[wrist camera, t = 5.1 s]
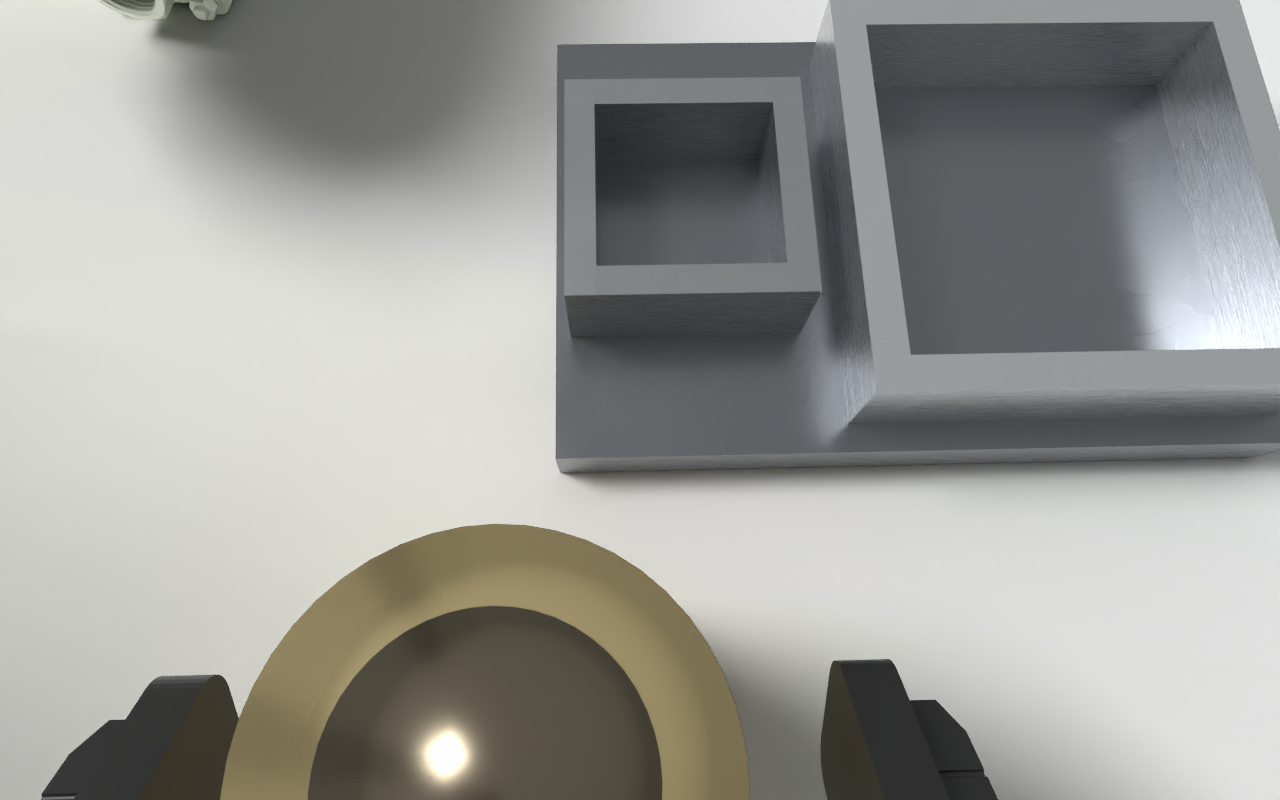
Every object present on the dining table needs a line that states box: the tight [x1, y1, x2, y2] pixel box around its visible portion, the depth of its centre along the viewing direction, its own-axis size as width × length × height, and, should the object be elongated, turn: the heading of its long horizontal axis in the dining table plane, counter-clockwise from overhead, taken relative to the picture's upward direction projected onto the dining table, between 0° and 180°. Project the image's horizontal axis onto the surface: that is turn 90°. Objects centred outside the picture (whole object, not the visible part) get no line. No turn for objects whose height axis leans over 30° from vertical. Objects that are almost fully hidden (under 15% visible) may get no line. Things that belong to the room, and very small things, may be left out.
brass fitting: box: [220, 524, 749, 800], centre depth 12 cm, size 5×5×9 cm
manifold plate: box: [556, 0, 1280, 472], centre depth 18 cm, size 15×10×3 cm, turn 92°
